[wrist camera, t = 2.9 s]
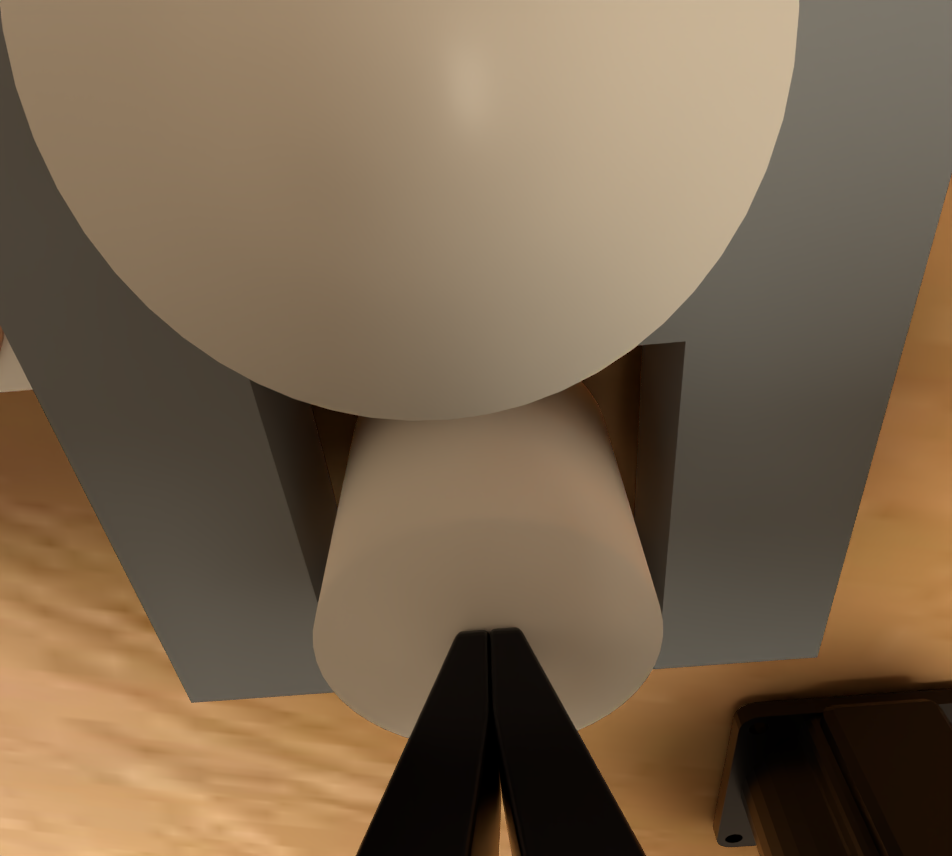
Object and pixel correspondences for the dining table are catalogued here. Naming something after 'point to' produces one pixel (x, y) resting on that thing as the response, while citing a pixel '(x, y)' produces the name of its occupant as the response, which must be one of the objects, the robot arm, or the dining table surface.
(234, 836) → the dining table surface
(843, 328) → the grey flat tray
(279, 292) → the button
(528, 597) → the button
